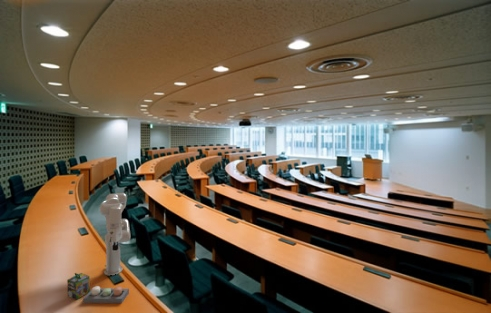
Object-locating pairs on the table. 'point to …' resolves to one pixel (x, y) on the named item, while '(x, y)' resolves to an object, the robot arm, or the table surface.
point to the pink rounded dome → (117, 291)
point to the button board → (104, 299)
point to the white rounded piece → (95, 291)
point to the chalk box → (78, 286)
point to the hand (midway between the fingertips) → (115, 249)
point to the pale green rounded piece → (107, 292)
